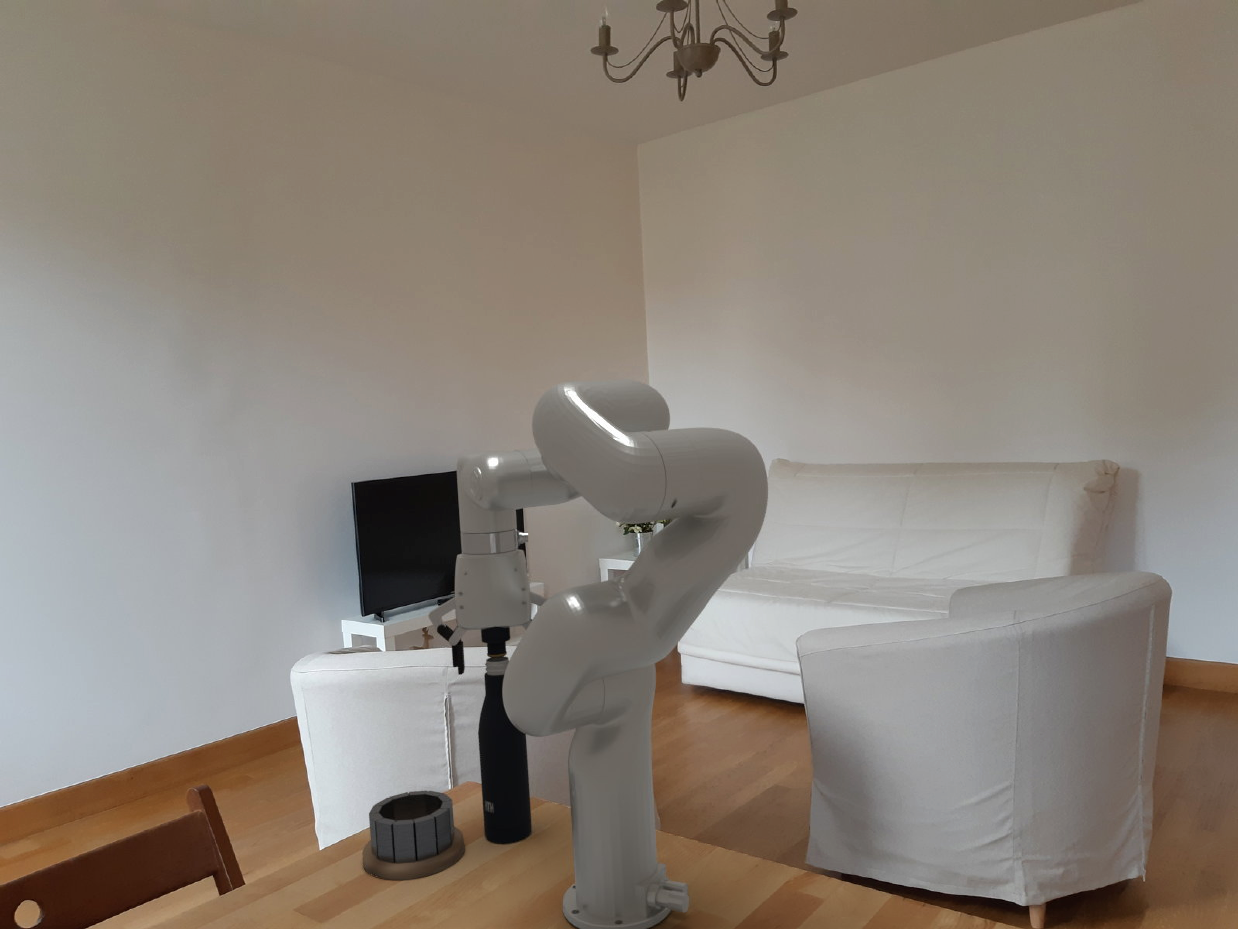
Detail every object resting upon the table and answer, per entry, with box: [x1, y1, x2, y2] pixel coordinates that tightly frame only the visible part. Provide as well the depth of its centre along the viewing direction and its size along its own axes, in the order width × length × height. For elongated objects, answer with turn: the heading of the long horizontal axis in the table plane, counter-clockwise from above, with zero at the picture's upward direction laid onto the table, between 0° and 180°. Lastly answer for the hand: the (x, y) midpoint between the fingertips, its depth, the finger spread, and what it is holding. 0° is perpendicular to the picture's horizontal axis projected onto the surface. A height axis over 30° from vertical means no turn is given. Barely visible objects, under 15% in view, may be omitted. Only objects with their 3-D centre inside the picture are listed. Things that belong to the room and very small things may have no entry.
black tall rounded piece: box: [477, 626, 533, 845], centre depth 127 cm, size 6×6×30 cm
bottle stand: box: [361, 790, 465, 881], centre depth 122 cm, size 13×13×6 cm
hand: (497, 668), depth 126 cm, fingers open, 9 cm apart
